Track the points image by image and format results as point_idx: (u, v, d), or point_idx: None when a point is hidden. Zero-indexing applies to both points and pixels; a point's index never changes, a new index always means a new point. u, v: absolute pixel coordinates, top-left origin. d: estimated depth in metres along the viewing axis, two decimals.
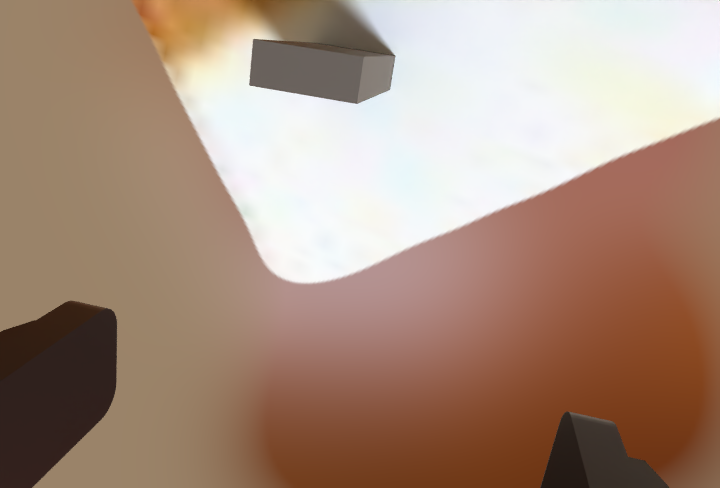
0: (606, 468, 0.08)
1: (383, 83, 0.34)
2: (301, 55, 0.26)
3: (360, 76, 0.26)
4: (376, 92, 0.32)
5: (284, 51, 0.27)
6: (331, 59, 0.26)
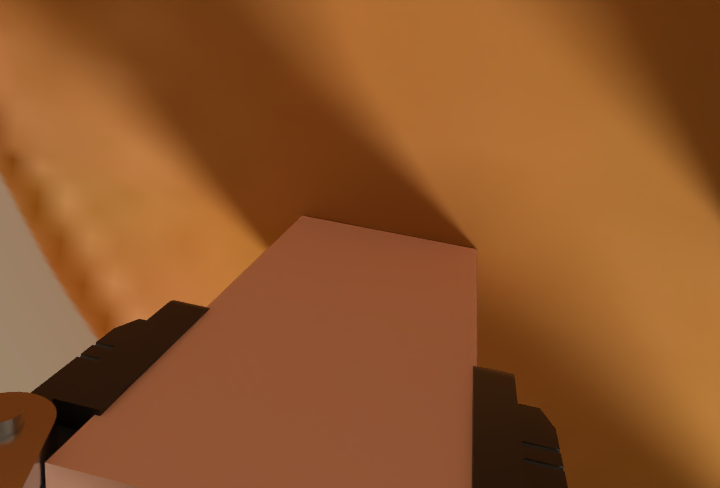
0: (494, 409, 0.09)
1: None
2: None
3: None
4: None
5: None
6: None
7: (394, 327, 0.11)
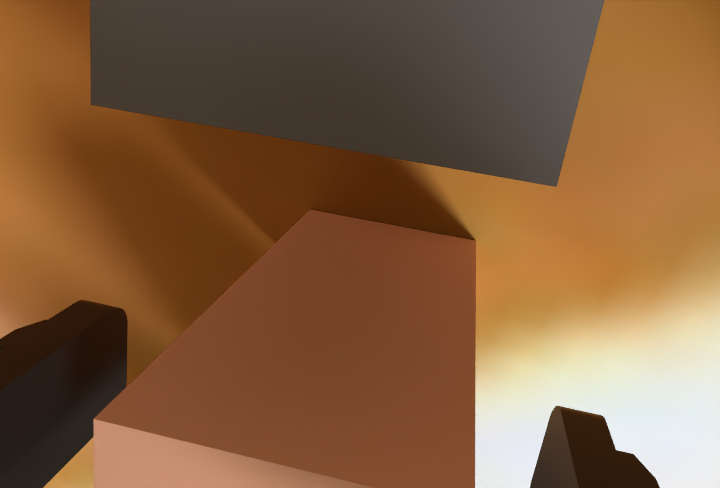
0: (594, 460, 0.08)
1: None
2: None
3: None
4: None
5: None
6: None
7: (398, 309, 0.12)
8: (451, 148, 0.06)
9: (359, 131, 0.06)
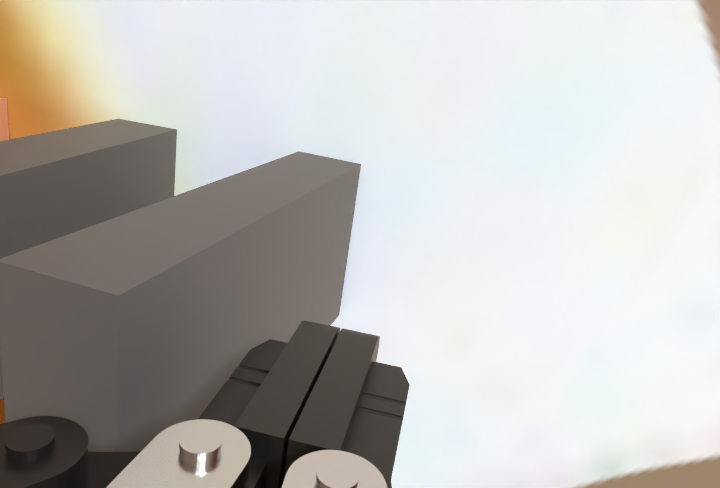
0: (344, 365, 0.10)
1: (302, 181, 0.15)
2: None
3: (47, 275, 0.08)
4: (277, 203, 0.13)
5: None
6: (18, 354, 0.09)
7: None
8: None
9: None
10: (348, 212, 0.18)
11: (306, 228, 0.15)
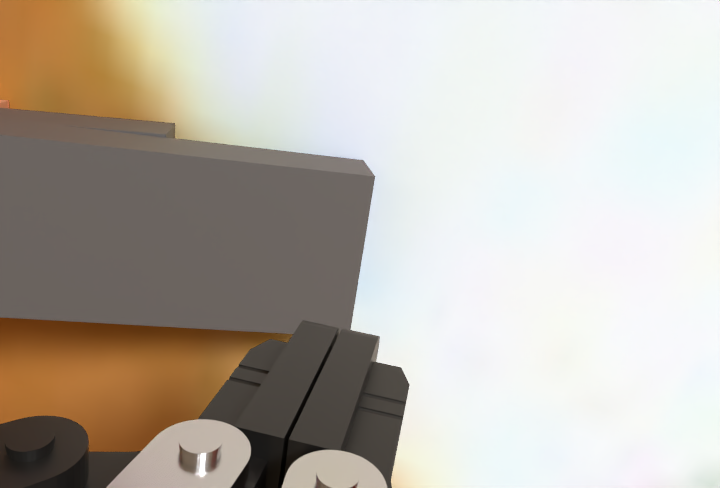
0: (344, 365, 0.10)
1: (252, 158, 0.16)
2: None
3: None
4: (164, 151, 0.16)
5: None
6: None
7: None
8: None
9: None
10: (346, 221, 0.17)
11: (221, 194, 0.16)
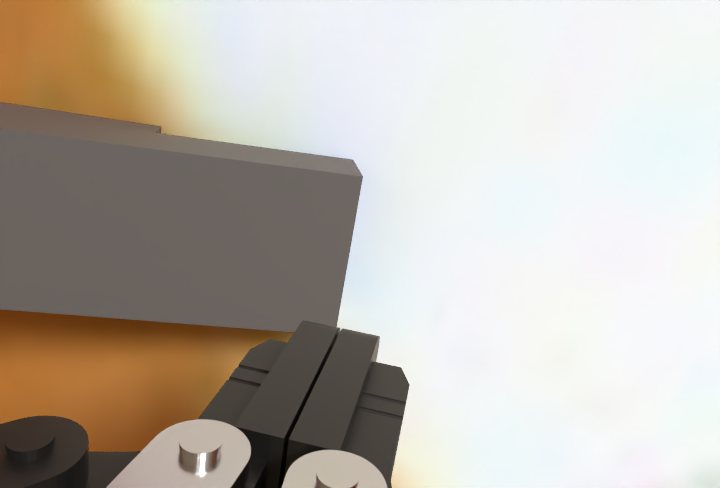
0: (344, 365, 0.10)
1: (240, 156, 0.17)
2: None
3: None
4: (152, 147, 0.16)
5: None
6: None
7: None
8: None
9: None
10: (333, 220, 0.17)
11: (209, 191, 0.16)
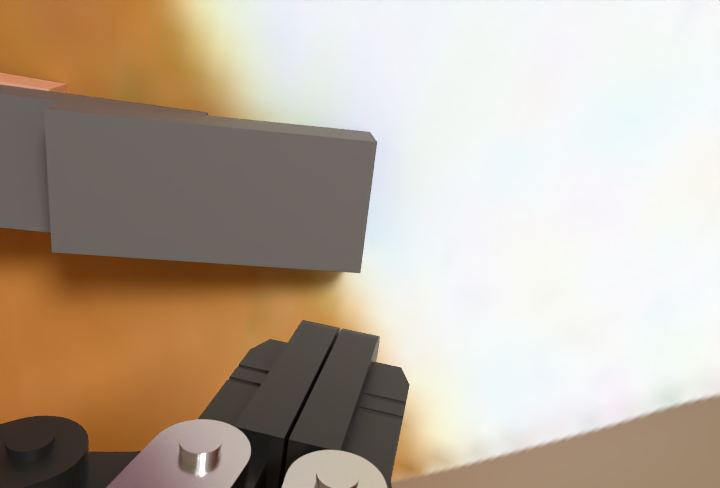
0: (344, 364, 0.10)
1: (281, 129, 0.21)
2: None
3: (58, 105, 0.21)
4: (214, 124, 0.21)
5: None
6: None
7: None
8: None
9: None
10: (355, 177, 0.22)
11: (258, 157, 0.21)
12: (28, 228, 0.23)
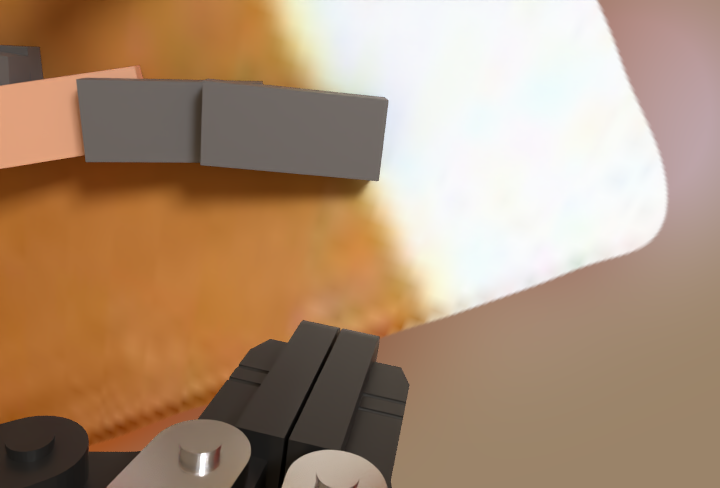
0: (345, 365, 0.10)
1: (333, 93, 0.37)
2: None
3: (206, 80, 0.36)
4: (295, 90, 0.36)
5: None
6: None
7: None
8: None
9: None
10: (375, 122, 0.37)
11: (320, 109, 0.36)
12: (166, 161, 0.38)
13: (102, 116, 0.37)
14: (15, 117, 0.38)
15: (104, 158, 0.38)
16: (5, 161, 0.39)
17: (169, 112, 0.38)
